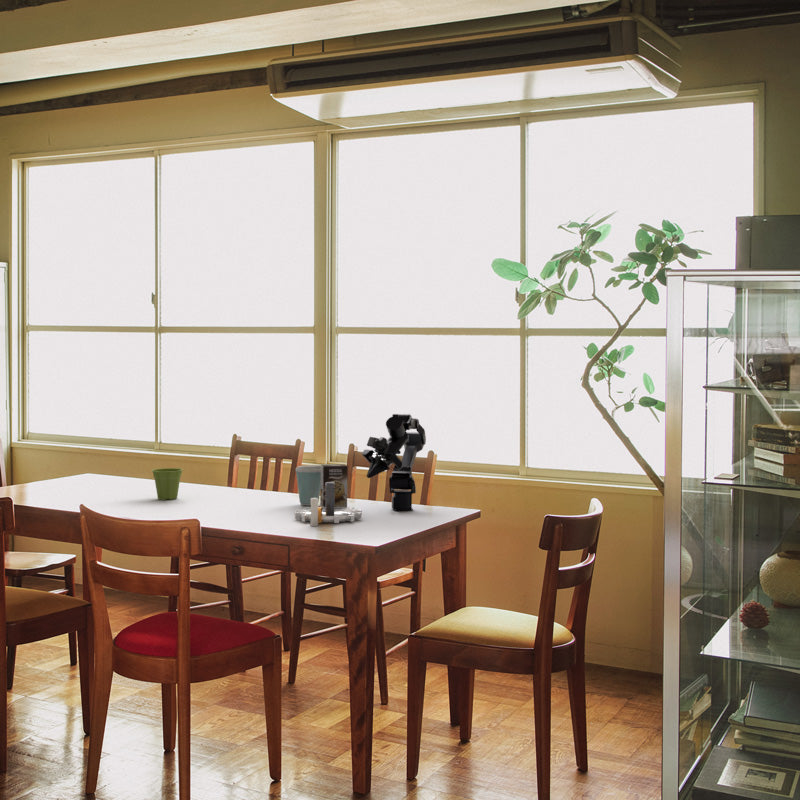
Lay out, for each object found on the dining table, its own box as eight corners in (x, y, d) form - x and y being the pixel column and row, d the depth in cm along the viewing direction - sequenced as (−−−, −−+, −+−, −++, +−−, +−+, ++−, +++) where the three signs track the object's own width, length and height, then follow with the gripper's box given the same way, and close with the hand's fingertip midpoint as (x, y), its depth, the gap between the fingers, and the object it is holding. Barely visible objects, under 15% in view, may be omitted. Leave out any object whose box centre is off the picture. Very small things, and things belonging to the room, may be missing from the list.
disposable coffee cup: (289, 505, 360) (289, 465, 359) (305, 501, 370) (305, 462, 369) (313, 508, 355) (313, 467, 354) (329, 504, 365) (329, 464, 364)
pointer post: (317, 524, 321) (317, 497, 321) (318, 526, 319) (318, 498, 318) (310, 525, 321) (310, 498, 320) (311, 526, 318) (311, 499, 318)
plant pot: (187, 496, 380) (187, 468, 379) (177, 501, 368) (177, 471, 368) (157, 496, 381) (157, 467, 381) (147, 500, 369) (146, 471, 369)
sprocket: (369, 513, 342) (369, 476, 341) (352, 524, 319) (352, 485, 319) (306, 510, 347) (306, 474, 346) (285, 521, 324) (285, 482, 324)
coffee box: (322, 510, 349) (323, 466, 348) (319, 508, 355) (320, 464, 355) (347, 510, 351) (348, 465, 351) (344, 507, 358) (344, 463, 357)
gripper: (366, 426, 348) (339, 459, 342) (395, 430, 333) (368, 464, 327) (384, 447, 353) (358, 480, 347) (414, 452, 338) (387, 486, 332)
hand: (367, 477), depth 338 cm, fingers closed
